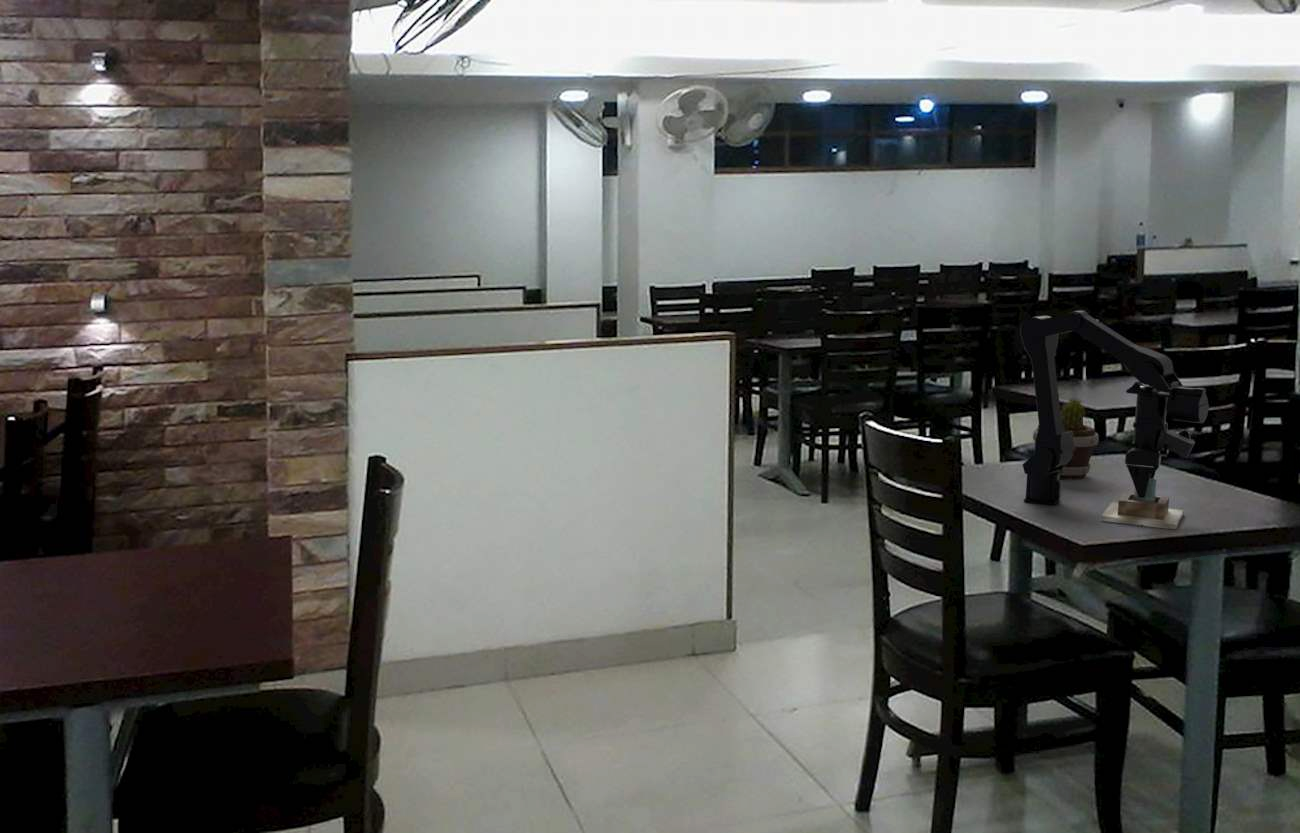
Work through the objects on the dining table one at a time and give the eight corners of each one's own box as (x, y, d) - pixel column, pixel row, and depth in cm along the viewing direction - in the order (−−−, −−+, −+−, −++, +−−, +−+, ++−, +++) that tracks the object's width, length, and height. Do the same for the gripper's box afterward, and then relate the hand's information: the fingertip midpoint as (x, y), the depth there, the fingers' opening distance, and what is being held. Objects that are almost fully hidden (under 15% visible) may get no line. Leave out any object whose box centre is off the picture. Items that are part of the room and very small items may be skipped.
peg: (1131, 513, 260) (1134, 479, 259) (1134, 509, 263) (1136, 476, 262) (1152, 516, 258) (1155, 482, 257) (1154, 512, 262) (1157, 478, 260)
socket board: (1101, 520, 258) (1102, 501, 257) (1111, 506, 270) (1113, 488, 270) (1175, 529, 252) (1177, 509, 251) (1183, 515, 264) (1184, 495, 263)
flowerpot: (1022, 468, 309) (1027, 386, 306) (1086, 470, 308) (1092, 387, 305) (1037, 481, 295) (1043, 395, 291) (1105, 483, 294) (1111, 396, 291)
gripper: (1189, 427, 246) (1182, 507, 248) (1198, 414, 262) (1191, 489, 265) (1127, 422, 251) (1121, 500, 253) (1140, 409, 267) (1134, 483, 270)
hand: (1144, 493), depth 260 cm, fingers open, 9 cm apart
